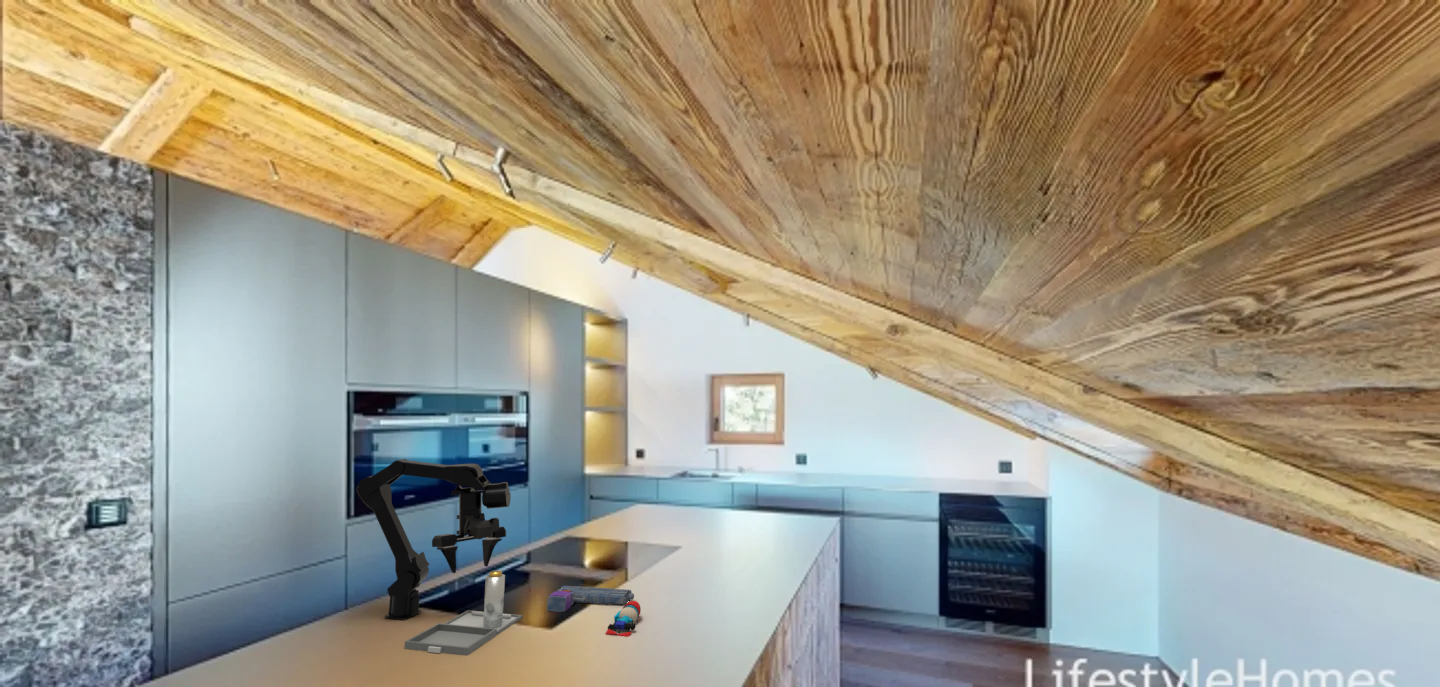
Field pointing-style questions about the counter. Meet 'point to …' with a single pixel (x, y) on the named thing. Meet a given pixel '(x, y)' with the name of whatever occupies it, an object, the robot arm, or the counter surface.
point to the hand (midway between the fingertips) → (470, 569)
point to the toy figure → (625, 619)
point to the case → (451, 639)
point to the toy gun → (586, 597)
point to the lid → (477, 620)
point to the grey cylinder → (494, 600)
